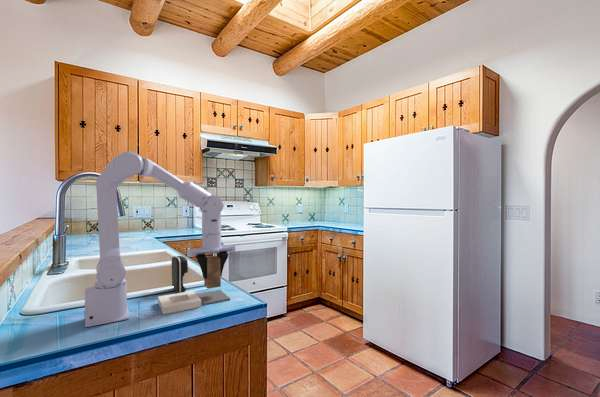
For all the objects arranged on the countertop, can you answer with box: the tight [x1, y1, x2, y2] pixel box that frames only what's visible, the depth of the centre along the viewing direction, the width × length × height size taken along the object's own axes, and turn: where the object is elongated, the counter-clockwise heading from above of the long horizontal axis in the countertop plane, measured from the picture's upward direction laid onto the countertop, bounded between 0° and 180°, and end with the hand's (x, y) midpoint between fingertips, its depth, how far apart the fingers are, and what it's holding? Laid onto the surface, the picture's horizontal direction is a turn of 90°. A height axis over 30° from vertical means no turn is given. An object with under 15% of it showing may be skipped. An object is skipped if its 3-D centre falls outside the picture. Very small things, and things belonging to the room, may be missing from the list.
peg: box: [203, 255, 222, 290], centre depth 96 cm, size 4×4×9 cm
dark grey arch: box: [171, 255, 189, 293], centre depth 104 cm, size 7×4×11 cm, turn 38°
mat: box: [196, 289, 231, 306], centre depth 96 cm, size 8×10×1 cm
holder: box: [157, 290, 202, 315], centre depth 90 cm, size 10×10×2 cm
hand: (212, 276), depth 96 cm, fingers closed on peg, 4 cm apart
